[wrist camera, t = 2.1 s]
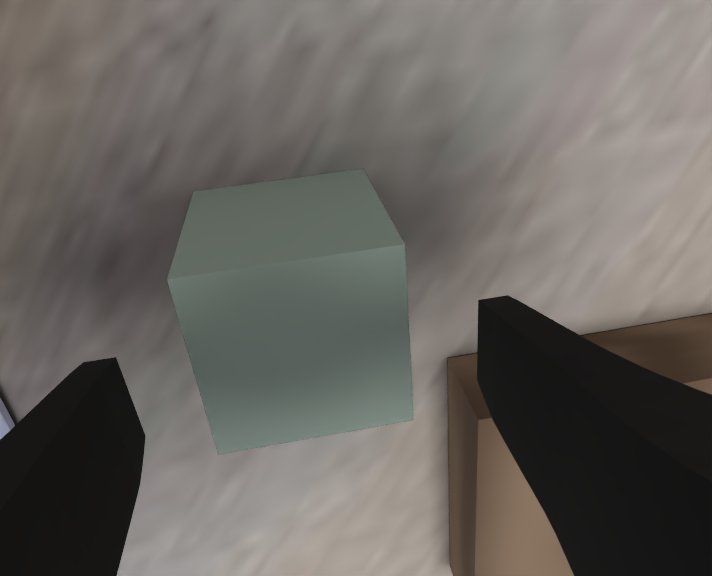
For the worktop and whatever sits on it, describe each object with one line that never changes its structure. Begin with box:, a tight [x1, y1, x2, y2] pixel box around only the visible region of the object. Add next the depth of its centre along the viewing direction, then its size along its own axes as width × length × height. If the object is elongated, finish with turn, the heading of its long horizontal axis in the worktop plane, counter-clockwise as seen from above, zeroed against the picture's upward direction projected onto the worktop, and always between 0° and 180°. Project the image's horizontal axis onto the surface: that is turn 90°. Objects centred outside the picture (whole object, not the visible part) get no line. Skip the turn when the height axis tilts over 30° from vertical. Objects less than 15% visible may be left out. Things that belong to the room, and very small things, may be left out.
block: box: [167, 169, 414, 455], centre depth 14 cm, size 4×4×5 cm
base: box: [447, 314, 712, 576], centre depth 20 cm, size 11×11×3 cm
